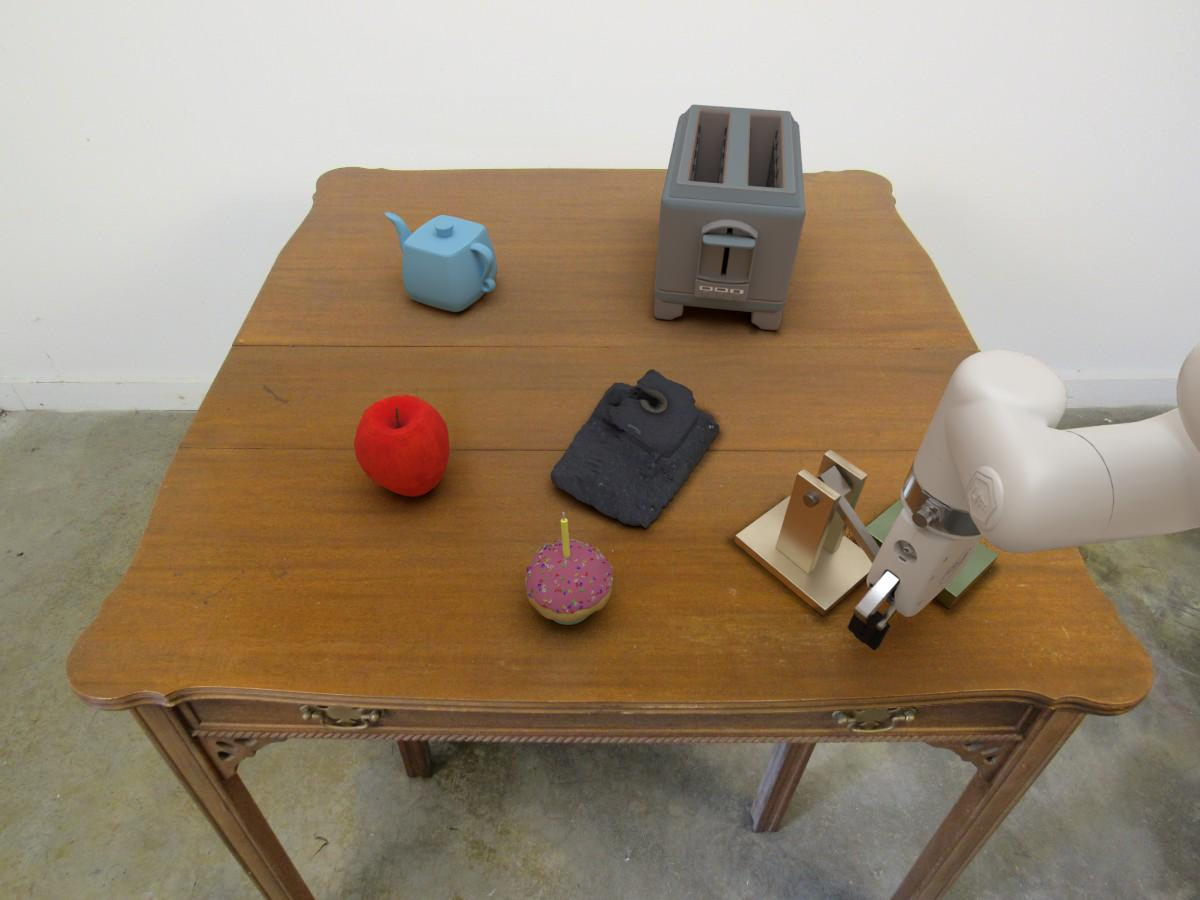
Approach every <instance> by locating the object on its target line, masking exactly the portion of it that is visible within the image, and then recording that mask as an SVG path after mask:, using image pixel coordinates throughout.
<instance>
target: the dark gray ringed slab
mask: <svg viewBox="0 0 1200 900" xmlns="http://www.w3.org/2000/svg"><path fill="white" fill-rule="evenodd" d="M695 404H696V399H695V397H694V394H693V391H692V390H691V389H690V388H688V387H687V386H685V385H683V384H682V383H679V382H677V381H673V380H672V379H669V378H666V377H665V376H664V375H663V374H661V373H660V371H656V370H655V369H654V368H651V369H649V370H648V371H646V373H645V374H644V375H643V376H642V377H641V378H639V379H637V381H636V385H631V384H629V383H624V382H613V383H612V385H611V386H610V387H608V388H607V389H606V390H605V393H604V395H602V397H601V398H600V400H599V401H598V402H597V405H596V407H594V410H593V412H592V413H591V414H590V416H589V418H588V420H587V421H586V422H585V424H582V426H581V428H580V429H579V430H578V431H577V432H576V433H575V435H574V437H573V440H572V442H571V443H569V446H568V447H567V449H566V450H565V452H564V453H563V455H562V456H561V458H560V459H559V460H558V461H557V462H556V464H555V465H554V466H553V469H552V470H551V471H550V480H551V483H552V484H553V485H554V486H555V487H556V488H558V489H560V490H562V491H564V492H565V493H567V494H569V495H571V496H572V497H574V498H575V499H576V500H577V501H581V502H582V503H584V504H587V505H589V506H592V507H593V508H594V509H596V511H598V512H600V513H601V514H603V515H604V516H607V517H611V518H612V519H615V520H617V521H619V522H620V523H622V524H624V525H630V526H633V527H639V526H640V527H643V528H644V529H646V528H648V527H649V526H651V524H652V522H654V521H655V520H656V519H657V518H658V517H659V515H660V514H661V513H662V510H663V509H664V508H666V507H667V506H668V504H669V502H670V501H671V500H672V499H673V498H674V496H675V495H677V493H678V492H679V491H680V490H681V487H682V486H683V485H684V484H685V483H686V481H687V480H688V479H689V478H688V477H689V476H690V475H691V473H692V472H693V471H694V469H695V467H697V465H698V464H699V462H700V461H701V460H702V458H703V456H704V455H705V452H706V451H707V450H708V449H710V448H711V444H713V442H714V439H716V437H717V435H718V433H719V430H720V425H719V423H717V422H716V421H714V420H713V418H714V416H713V415H712V414H710V413H708V412H704V411H703V410H701V409H698V407H697V406H696V405H695Z"/></svg>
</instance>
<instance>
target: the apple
mask: <svg viewBox="0 0 1200 900" xmlns="http://www.w3.org/2000/svg"><path fill="white" fill-rule="evenodd" d="M354 435H355V436H354V441H353V447H354V453H355V459H356V461H357V462H358V465H359V466H360V468H361V469H362V471H363V472H364V473H365V475H366V476H367V477H368V478H369V479H370V480H371V481H373V482H374V483H376V484H378V485H379V486H382V487H383V488H385V489H386V490H389V491H391V492H393V493H394V494H398V495H401V496H404V497H411V498H413V497H420V496H423V495H425V494H428V492H430V491H432V490H433V489H434V488H435V487H437V485H438V484H439V483H440V481H441V480H442V478H443V476H444V474H445V472H446V470H447V466H448V462H449V458H450V455H451V453H450V452H451V451H450V449H451V448H450V447H451V446H450V437H449V436H450V435H449V430H448V425H447V423H446V422H445V420H444V418H443V417H442V415H441V413H440V412H439V411H438V410H437V409H436V408H435V407H433V406H432V404H430V403H429V402H427V401H425V400H424V399H422V398H420V397H419V396H415V395H409V394H399V395H393V396H388V397H385V398H382V399H379V400H377V401H374V402H373V403H372V404H371V405H369V406H368V407H367V408H366V409H364V411H363V413H362V415H361V418H360V420H359V422H358V424H357V427H356V431H355V434H354Z"/></svg>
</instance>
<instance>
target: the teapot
mask: <svg viewBox="0 0 1200 900" xmlns="http://www.w3.org/2000/svg"><path fill="white" fill-rule="evenodd" d="M384 215H385V217H386V218H387V219H388V220H389V221H390V222H391V223H392V224H393V226H394V228H395V230H396V232H397V236H398V242H399V246H400V250H401V253H402V260H401V261H402V262H401V271H402V273H401V275H402V284H403V288H404V291H405V292H406V294H407V295H408V297H409V298H410V299H411V300H412V301H415V302H418V303H421V304H423V305H427V306H430V307H433V308H436V309H440V310H443V311H446V312H447V311H448V312H451V313H452V312H453V313H459V312H461V311H464V310H466V309H467V308H469V307H470V306H472V304H474V303H476V302H477V301H478V300H479V299H481V297H483V296H484V295H485V294H486V293H491V292H494V291H495V289H496V287H497V286H496V285H497V284H496V281H495V280H496V277H497V273H498V261H497V256H496V251H495V247H494V245H493V242H492V239H491V237H490V234H489V232H488V230H487V227H486V226H485V225H483V224H481V223H478V222H475V221H471V220H467V219H464V218H460V217H456V216H451V215H446V214H441V215H438V216H435V217H433V218H432V219H430V220H428V221H427V222H425V223H424V224H422V225H421V226H419V227H418V228H417V229H416V230H415V231H414V232H411V230H410V229H409V227H408V225H407V224H406V222H405V221H404V220H403V218H402V217H400V215H398V214H396V213H393V212H389V211H387V212H384Z"/></svg>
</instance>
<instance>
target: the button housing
mask: <svg viewBox="0 0 1200 900" xmlns="http://www.w3.org/2000/svg"><path fill="white" fill-rule="evenodd" d="M903 507H904V506H903V503H902V500H901V497H900V498H899V499H898V500H896V502H894V503H893V504H892V505H891V506H889V507H888V508H887V509H886V510H885V511H883V512H882V513H881V514H880V515H879V516H877V517H876V518H875V519H874V520H872V521H871V522H870V523H869V524H868V525H866V526H865V527H866V529H867V530H868V531H869V533H870V534H871V536H872V537H873V539H874V540H875V542H876V543H877V544H878V546H879V547H880V548H881V546H882V544H883V542H884V540H885V538H886V537H887V535H888V533H889V531H890V529H891V528H892V526H893V523H894V522H895V521H896V519H897V517H898V516H899V514H900V512H901V511H902V509H903ZM999 556H1000V555H999V554H998V553H997V552H995V551H994V550H992V549H991V548H989V547H988V546H987V545H985V544H983V542H980V541H979V542H978V544H977V546H976V548H975V550H974V552H973V554H972V556H971V558H970V560H969V561H968V563H967V564H966V566H965V567H964V568H963V570H962V571H961V572H960V573H959V574H958V575H957V576H956V577H955V578H954V579H953V580H952V581H951V582H950V583H949V584H948V585H947V586H946V587H945V588H944V589H943V590H942V591H941V592H940V593H939V594H938V595H937V596H935V597H934V598H933V599H935V600H936V601H937V602H939V603H940V604H942V605H943V606H944V607H946V608H947V609H951V608H952V607H953V606H954V605H955V604H956V603H957V602H958V601H959V600H960V599H961V598H962V597H963V596H964V595H965V594H966V593H967V592H968V591H969V590H970V589H971V588H972V587H973V586H974V585H975V584H976V583H977V582H978V581H979V580H980V579H981V578H982V577H983V576H984V575H985V574H986V573H987V572H988V571H989V570H990V568H992V566H993V565H994V564H995V562H996V561H997V559H998V558H999Z"/></svg>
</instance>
